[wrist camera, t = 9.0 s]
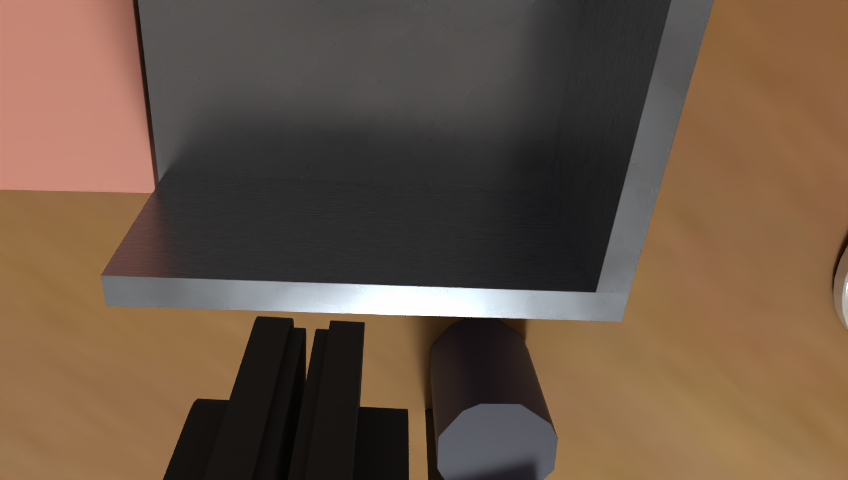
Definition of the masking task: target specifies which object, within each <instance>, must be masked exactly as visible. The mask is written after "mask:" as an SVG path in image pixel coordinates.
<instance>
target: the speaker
mask: <svg viewBox="0 0 848 480" xmlns="http://www.w3.org/2000/svg"><path fill="white" fill-rule="evenodd" d="M430 376H431V389H432V403H433V408H432V409H429V410H425V417H426V439H427V462H428V480H544V479H545V478H546V477H547V476H548V475H549V474H550V473H551V472H552V471H553V470H554V466H555V457H556V449H557V440H558V438H557V435H556V432H555V429H554V426H553V423H552V420H551V417H550V414H549V411H548V408H547V405H546V402H545V399H544V396H543V393H542V390H541V387H540V384H539V381H538V378H537V375H536V372H535V369H534V366H533V363H532V361H531V358H530V355H529V352H528V349H527V347H526V345H525V343H524V341H523V338H522V336H520V335H519V334H517V333H516V332H515V331H513V330H512V329H510V328H509V327H507V326H506V325H504V324H503V323H501V322H500V321H499V320H497V319H464V320H462V321H459V322H457V323H455V324H452V325H450V326H449V327H448V329H447V330H446V331H445V332H444V333H443V334H442V335H441V337H440V338H439V339H438V340H437V341H436V342H435V343H434V345H433V346H432V347H431V369H430Z"/></svg>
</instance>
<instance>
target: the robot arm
mask: <svg viewBox="0 0 848 480" xmlns="http://www.w3.org/2000/svg"><path fill="white" fill-rule="evenodd" d="M833 297H834V303H835V308H836V312H837V314H838V316H839V318H840V320H841V322H842V324H843V325H844V326H845V327H846V328H847V329H848V246H847V248H846V250H845V252H844V254H843V255H842V257H841V259H840V262H839V265H838V269H837V272H836V275H835V279H834V292H833ZM364 329H365V322H349V321H332V320H331V321H330V325H329V330H327V329H316V331H315V336H314V342H313V347H312V352H311V358H310V363H309V368H308V374H307V379H306V329H305V328H294V322H293V319H292V318H280V317H263V316H258V317H256V320H255V322H254V325H253V328H252V331H251V334H250V338H249V341H248V344H247V347H246V350H245V353H244V356H243V359H242V362H241V365H240V368H239V371H238V375H237V378H236V381H235V384H234V387H233V390H232V393H231V396H230V399H229V400H214V399H197V400H196V401H195V402H194V403H193V405H192V407H191V409H190V411H189V414H188V417H187V419H186V422H185V424H184V427H183V429H182V432H181V435H180V437H179V440H178V442H177V445H176V447H175V450H174V453H173V455H172V458H171V460H170V463H169V465H168V468H167V470H166V473H165V476H164V478H163V480H409V436H408V409H394V408H374V407H360V396H361V380H362V363H363V346H364Z"/></svg>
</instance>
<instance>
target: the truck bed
mask: <svg viewBox="0 0 848 480" xmlns="http://www.w3.org/2000/svg"><path fill="white" fill-rule="evenodd" d="M713 1H714V0H138V5H139V14H140V23H141V31H142V40H143V48H144V57H145V66H146V74H147V83H148V92H149V100H150V109H151V117H152V126H153V135H154V143H155V152H156V160H157V169H158V178H159V183H158V185H157V186H156V188H155V189H154V191H153V193H152V194H151V196H150V197H149V199H148V201H147V202H146V204H145V206H144V207H143V209H142V210H141V212H140V214H139V215H138V217H137V218H136V220H135V222H134V223H133V225H132V226H131V228H130V230H129V231H128V233H127V234H126V236H125V238H124V239H123V241H122V242H121V244H120V246H119V247H118V249H117V250H116V252H115V254H114V255H113V257H112V258H111V260H110V262H109V263H108V265H107V266H106V268H105V270H104V271H103V273H102V274H101V279H102V285H103V291H104V296H105V302H106V306H126V307H159V308H193V309H226V310H259V311H292V312H325V313H358V314H392V315H425V316H458V317H491V318H524V319H557V320H590V321H621V320H622V317H623V313H624V310H625V306H626V303H627V299H628V296H629V292H630V289H631V285H632V282H633V279H634V275H635V272H636V268H637V265H638V261H639V258H640V254H641V251H642V247H643V244H644V240H645V237H646V233H647V230H648V227H649V223H650V220H651V216H652V213H653V209H654V206H655V202H656V199H657V195H658V192H659V188H660V185H661V181H662V178H663V174H664V171H665V168H666V164H667V161H668V157H669V154H670V150H671V147H672V143H673V140H674V136H675V133H676V129H677V126H678V122H679V119H680V115H681V112H682V109H683V105H684V102H685V98H686V95H687V91H688V88H689V84H690V81H691V77H692V74H693V70H694V67H695V63H696V60H697V57H698V53H699V50H700V46H701V43H702V39H703V36H704V32H705V29H706V25H707V22H708V18H709V15H710V11H711V8H712V4H713Z"/></svg>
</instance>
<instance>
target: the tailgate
mask: <svg viewBox="0 0 848 480" xmlns="http://www.w3.org/2000/svg"><path fill="white" fill-rule="evenodd" d="M158 183H159V178H158V169H157V160H156V152H155V143H154V135H153V126H152V117H151V109H150V100H149V92H148V83H147V74H146V66H145V57H144V48H143V40H142V31H141V23H140V14H139V5H138V0H0V189H7V190H49V191H92V192H135V193H153V191H154V189H155V188H156V186H157V185H158Z"/></svg>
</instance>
